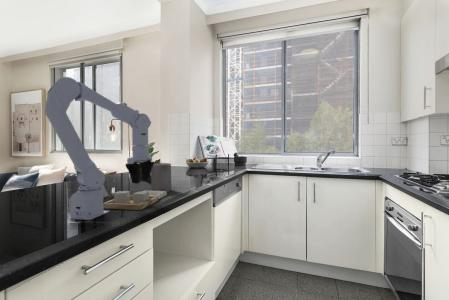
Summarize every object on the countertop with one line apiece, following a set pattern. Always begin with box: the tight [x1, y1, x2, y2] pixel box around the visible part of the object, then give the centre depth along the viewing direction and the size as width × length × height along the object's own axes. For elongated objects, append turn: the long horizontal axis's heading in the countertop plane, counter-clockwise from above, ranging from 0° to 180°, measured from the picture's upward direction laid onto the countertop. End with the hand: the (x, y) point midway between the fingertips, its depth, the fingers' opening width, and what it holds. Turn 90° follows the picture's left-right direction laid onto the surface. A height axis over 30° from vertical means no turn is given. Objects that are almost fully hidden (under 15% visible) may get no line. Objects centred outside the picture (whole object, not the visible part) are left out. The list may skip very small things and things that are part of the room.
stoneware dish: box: [131, 190, 168, 200], centre depth 104 cm, size 11×11×2 cm
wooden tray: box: [103, 194, 159, 211], centre depth 92 cm, size 14×15×2 cm
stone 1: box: [113, 190, 131, 204], centre depth 92 cm, size 4×4×4 cm
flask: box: [102, 183, 109, 199], centre depth 105 cm, size 7×7×10 cm
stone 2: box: [132, 191, 149, 204], centre depth 91 cm, size 4×4×4 cm
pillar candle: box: [150, 162, 172, 193], centre depth 119 cm, size 10×10×15 cm
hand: (141, 181), depth 91 cm, fingers open, 7 cm apart
